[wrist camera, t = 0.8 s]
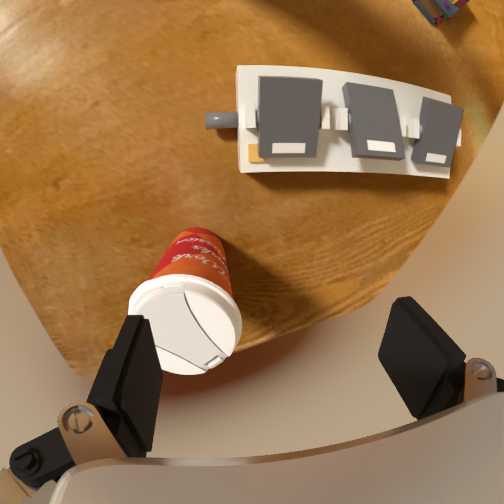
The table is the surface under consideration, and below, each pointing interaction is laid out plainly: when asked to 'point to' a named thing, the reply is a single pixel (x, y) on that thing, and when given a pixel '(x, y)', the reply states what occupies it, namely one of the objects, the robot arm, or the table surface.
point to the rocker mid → (373, 122)
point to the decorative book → (439, 9)
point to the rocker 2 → (437, 133)
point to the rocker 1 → (288, 116)
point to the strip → (326, 124)
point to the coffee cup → (190, 304)
